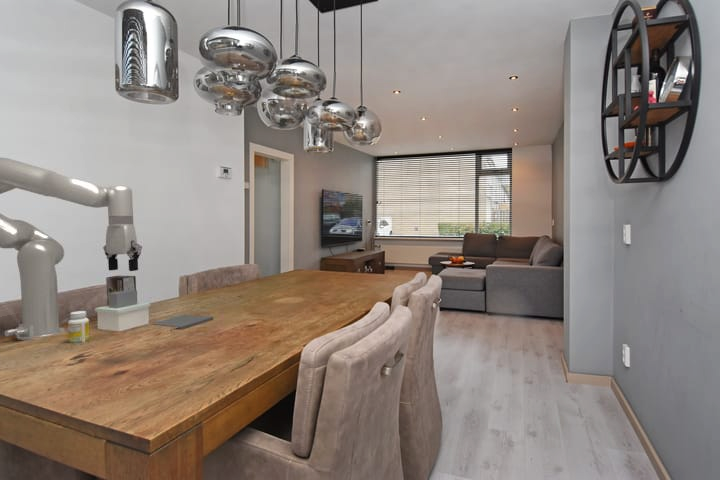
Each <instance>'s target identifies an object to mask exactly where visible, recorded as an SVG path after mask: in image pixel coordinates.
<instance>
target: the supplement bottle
mask: <svg viewBox="0 0 720 480" xmlns="http://www.w3.org/2000/svg"><path fill="white" fill-rule="evenodd" d="M70 318H71V319H70V320H68V322H67V327H68V328H67V332H68V334H67V335H68V344H80V343H85V342H88V341H89V340H90V319H89V318H87V311H85V310H78V311H77V310H76V311H72V312H70Z"/></svg>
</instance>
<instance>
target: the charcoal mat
mask: <svg viewBox="0 0 720 480" xmlns="http://www.w3.org/2000/svg"><path fill="white" fill-rule="evenodd" d="M210 321H214V316H206V315H196V314H194V315H193V314H186V313H185V314H181V315H178V316H173V317H171V318H166V319H163V320H160V321H157V322H152V323H150V325H154V326H160V327H161V326H163V327H170V328H172V327H173V328H174V330H178V331H179V330H184V329H188V328H191V327H193V326H194V327H195V326H197V325H200V324H204V323H206V322H210Z"/></svg>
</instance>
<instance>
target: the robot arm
mask: <svg viewBox="0 0 720 480" xmlns="http://www.w3.org/2000/svg"><path fill="white" fill-rule="evenodd" d="M15 189H19V190H23V191H26V192H30V193H33V194H37V195H42V196H44V197H51V198H56V199H60V200H63V201H66V202H67V201H68V202H71V203H73V204H78V205H81V206H85V207H90V208H96V209H98V208H106V207H107V213H108V214H107V215H108V218H107V219H108V226H107V228H106V234H105V245H104V246H103V247H102V249H103V252H104V255H105V256H106V259H107V262H108V263H107V264H108V266H107V267H108V271H118V270H119V263H118V262H119V261H118V258H117V257H118V256H119V255H125V254H126V255H127V257H128V258H129V259H128V271H129V272H134V271H135V272H136V271H139V259H140V256H141V254H142V250H143V246H142V245H141V244H139V243H138V241H137V233H136V228H135V225H134V208H133V207H134V206H133V190H132V188H131V187H129V186H126V185H113V186H112V185H111V186H108V187H107V186H99V185H97V184H94V183H90V182H86V181H83V180H80V179H76V178H72V177H69V176H65V175H63V174H60V173H57V172H55V171H53V170H50V169H46V168H44V167H43V168H42V167H39V166H36V165H32V164H28V163H25V162H22V161H19V160H15V159H12V158H8V157H0V195H1V194H4V193H7V192H10V191H12V190H15ZM0 248H1V249H14V250H16V251H17V254H16V255H17V256H16V261H17V262H16V263H17V267H18V272H19V280H20V296H21V318H22V319H21V320H22V321H21V322H22V323H20V324H18V326H17V327H16V328H11V329H7V330H5V331H4V335H5V337H11V336H16V339H17V340H19V341H33V339H37V338H45V337H46V338H47V337H50V336H55V335H58V334H63V333H64V332H65V331H66V329H65V328H64V327H60V320H59V318H60V317H59V295H58V293H59V292H58V291H59V289H58V278H57V277H58V275H57V271H56V265H58V264H59V263H61V261H62V260H63V259H64V257H65V249H64V247H63V245H62V244H61V243H59V242H58V241H57V240H55V239H54V238H52V237H51V236H50V235H48V234H46V233H45V232H44V231H42V230H40V229H39V228H38V227H36V226H34V225H33V224H32V223H29V222H28V221H25V220H21V219H13V218H9V217H7V216H5V215H4V214H2V213H0Z"/></svg>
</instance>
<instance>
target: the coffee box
mask: <svg viewBox="0 0 720 480" xmlns="http://www.w3.org/2000/svg"><path fill="white" fill-rule="evenodd" d="M136 279H137V276H136V275H112V276H108V277H105V282H106V306H109V297H108V293H113V292H118V291H124V290H137V280H136Z"/></svg>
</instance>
